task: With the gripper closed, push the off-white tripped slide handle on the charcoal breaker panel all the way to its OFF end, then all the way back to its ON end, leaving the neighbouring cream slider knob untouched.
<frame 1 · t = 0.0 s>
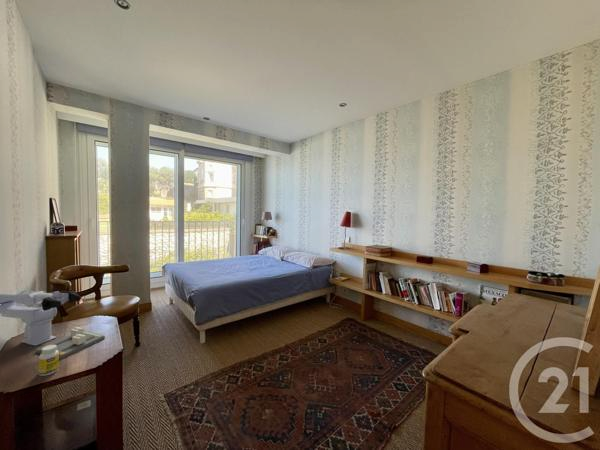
hand: (70, 301, 111), 22 cm above the table, tool horizontal, fingers open, 7 cm apart
supplement bottle: (48, 372, 95), on the table
cream slider knob: (77, 331, 119), point 4 cm above the table, slide at 4.5 cm
tripped breaker: (78, 338, 113), point 4 cm above the table, slide at 0.0 cm
breaker panel: (72, 345, 114), on the table
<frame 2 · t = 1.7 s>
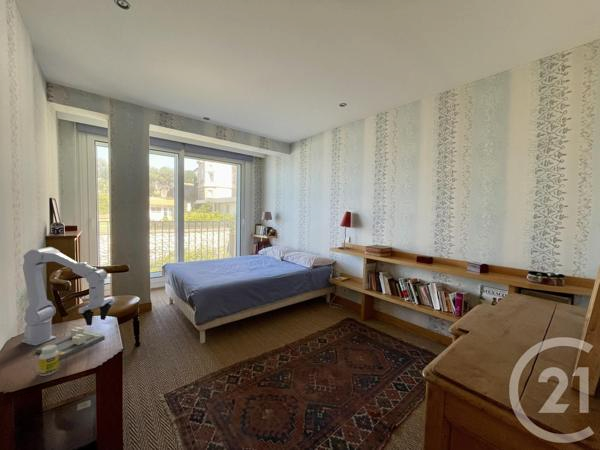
hand: (96, 322, 120), 8 cm above the table, tool pointing down, fingers open, 6 cm apart
nothing on the table moved.
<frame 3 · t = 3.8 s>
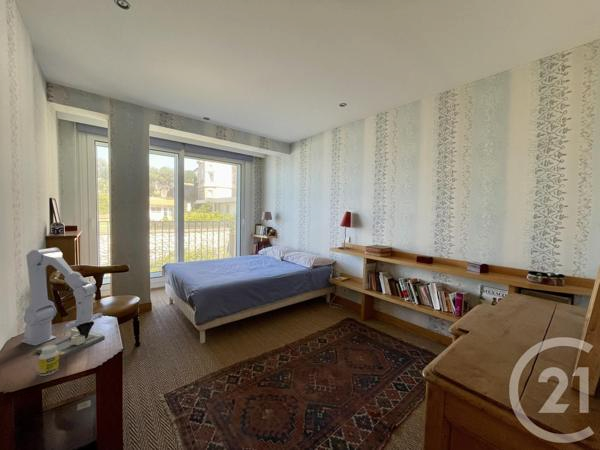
hand: (84, 338, 115), 3 cm above the table, tool pointing down, fingers closed
tripped breaker: (77, 339, 112), point 4 cm above the table, slide at -0.4 cm, touching gripper
everything else where it was.
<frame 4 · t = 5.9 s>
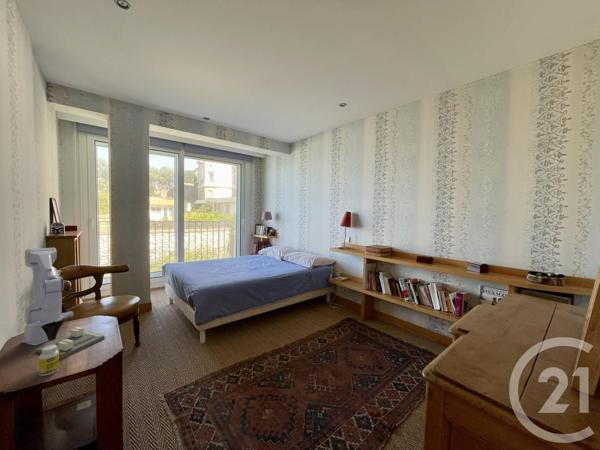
hand: (51, 339, 103), 8 cm above the table, tool pointing down, fingers closed
tripped breaker: (66, 344, 108), point 4 cm above the table, slide at -5.1 cm
everything else where it was.
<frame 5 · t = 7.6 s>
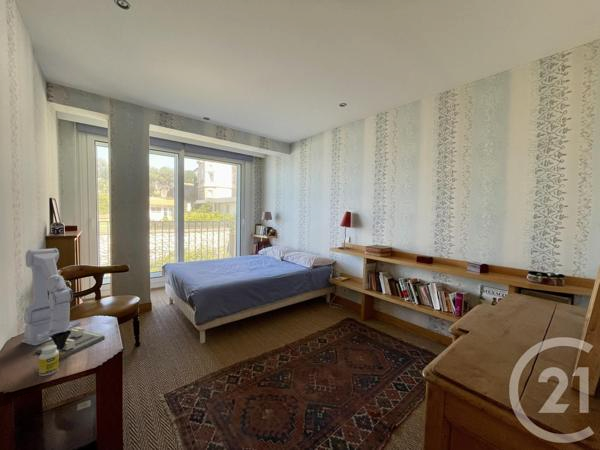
hand: (60, 348, 106), 3 cm above the table, tool pointing down, fingers closed
tripped breaker: (67, 343, 109), point 4 cm above the table, slide at -4.5 cm, touching gripper
everything else where it was.
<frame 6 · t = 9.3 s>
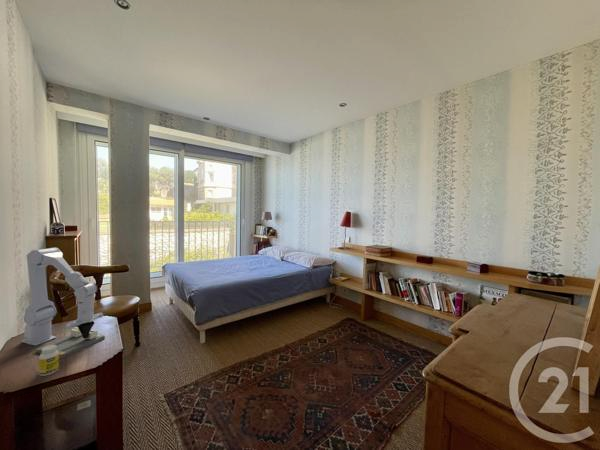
hand: (85, 337, 115), 3 cm above the table, tool pointing down, fingers closed
tripped breaker: (90, 333, 118), point 4 cm above the table, slide at 5.2 cm, touching gripper
everything else where it was.
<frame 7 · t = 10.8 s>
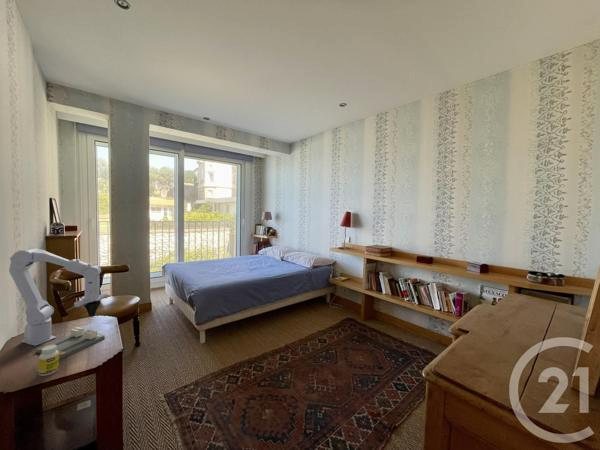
hand: (91, 316, 124), 9 cm above the table, tool pointing down, fingers closed
tripped breaker: (90, 333, 118), point 4 cm above the table, slide at 5.1 cm
everything else where it was.
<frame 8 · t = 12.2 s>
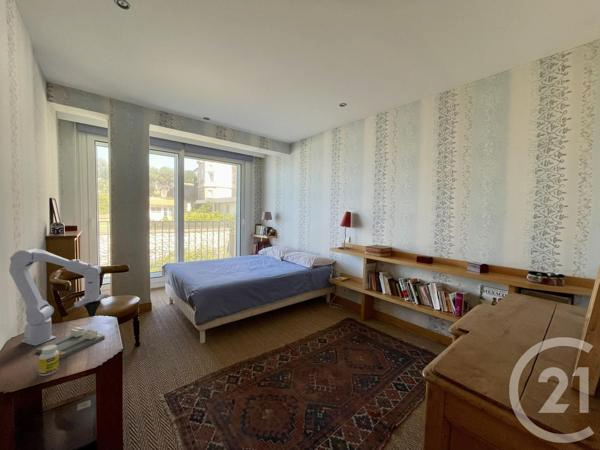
hand: (91, 316, 124), 9 cm above the table, tool pointing down, fingers closed
nothing on the table moved.
at the end: tripped breaker slide at 5.1 cm; cream slider knob slide at 4.5 cm; supplement bottle moved 0.2 cm from its start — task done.
